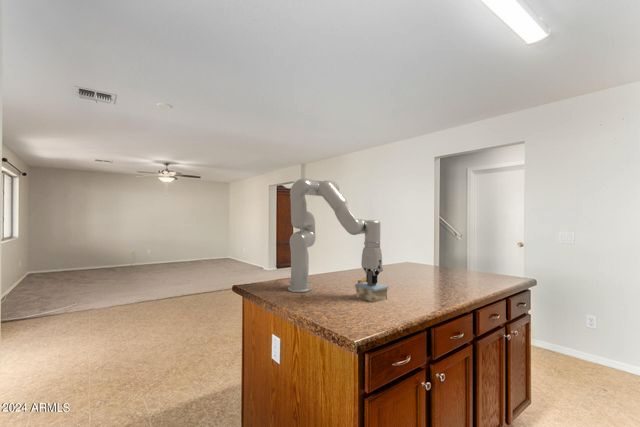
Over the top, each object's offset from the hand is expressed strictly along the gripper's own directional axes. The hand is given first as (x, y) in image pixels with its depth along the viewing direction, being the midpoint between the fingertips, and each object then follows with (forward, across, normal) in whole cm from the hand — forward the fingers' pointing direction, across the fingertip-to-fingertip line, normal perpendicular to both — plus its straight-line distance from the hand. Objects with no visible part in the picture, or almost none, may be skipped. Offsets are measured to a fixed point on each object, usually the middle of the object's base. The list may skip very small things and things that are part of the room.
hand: (371, 282), depth 157 cm
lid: (+2, 0, 0) cm, 2 cm away
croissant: (+9, -14, +11) cm, 20 cm away
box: (+8, 0, 0) cm, 8 cm away
